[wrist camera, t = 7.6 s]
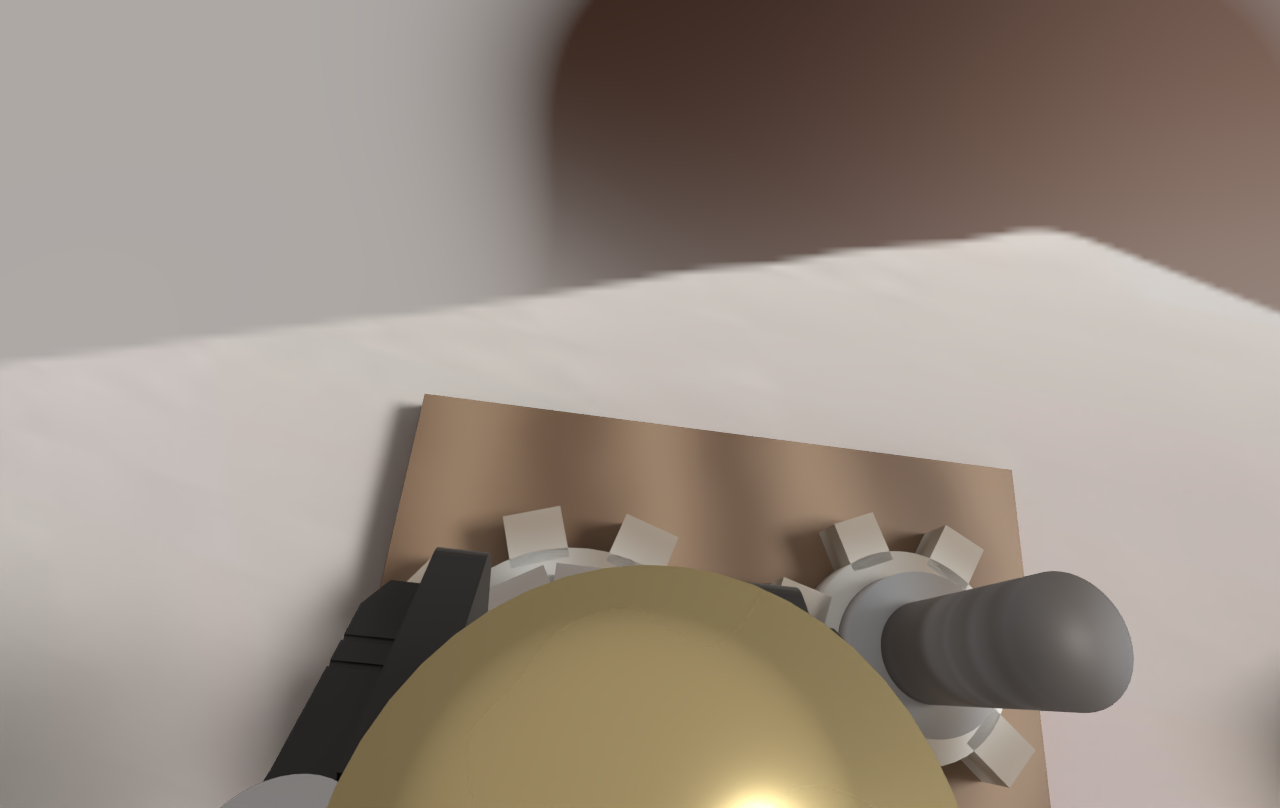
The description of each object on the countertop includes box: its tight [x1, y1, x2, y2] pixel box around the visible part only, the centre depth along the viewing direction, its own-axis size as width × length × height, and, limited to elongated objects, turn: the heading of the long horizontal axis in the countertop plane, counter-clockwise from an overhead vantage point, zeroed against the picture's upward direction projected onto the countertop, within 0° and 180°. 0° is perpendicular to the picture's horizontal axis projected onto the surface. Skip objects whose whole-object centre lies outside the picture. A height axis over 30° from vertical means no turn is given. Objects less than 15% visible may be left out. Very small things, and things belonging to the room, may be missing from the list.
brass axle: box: [327, 565, 958, 808], centre depth 8 cm, size 4×4×10 cm
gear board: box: [380, 394, 1134, 808], centre depth 21 cm, size 24×18×11 cm
